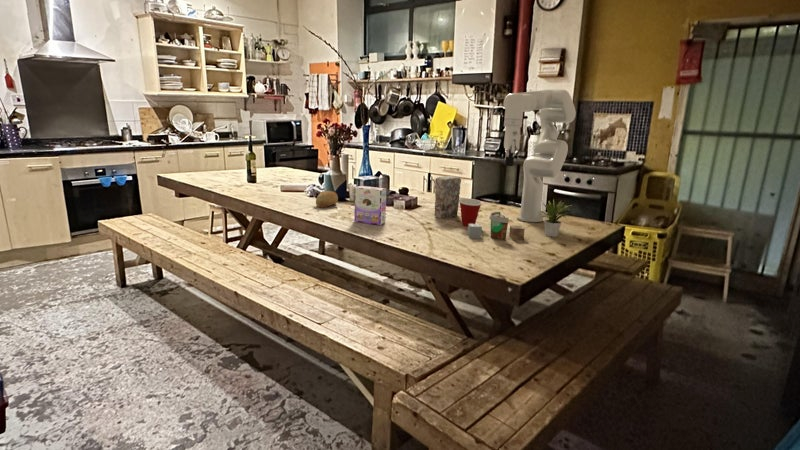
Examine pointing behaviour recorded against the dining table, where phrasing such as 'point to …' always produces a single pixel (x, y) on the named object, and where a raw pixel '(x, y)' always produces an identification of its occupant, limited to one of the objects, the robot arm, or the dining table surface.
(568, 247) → the dining table surface
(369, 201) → the candy box
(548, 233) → the house plant
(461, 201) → the plastic cup
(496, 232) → the food container
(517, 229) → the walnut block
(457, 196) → the stone block
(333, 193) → the bread roll
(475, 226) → the slate-grey block
